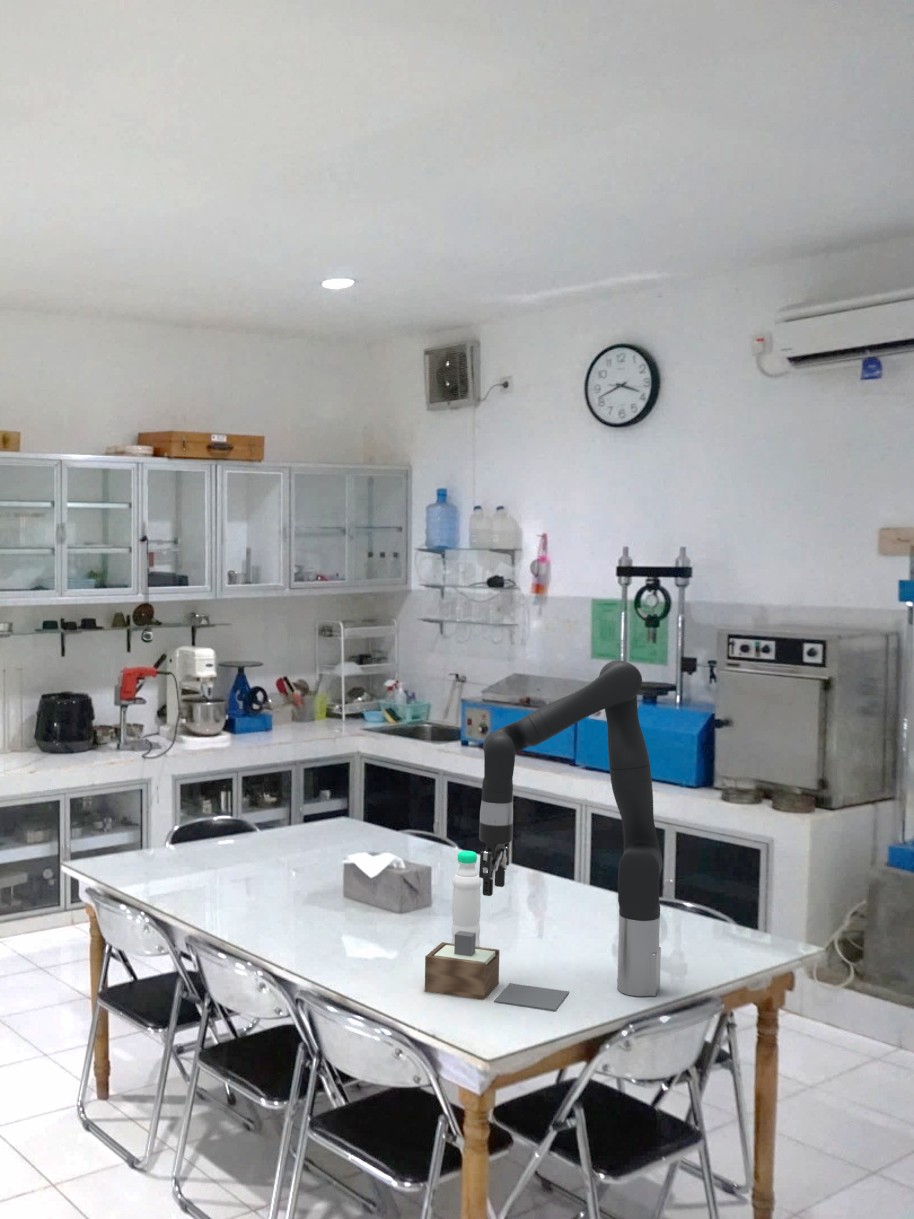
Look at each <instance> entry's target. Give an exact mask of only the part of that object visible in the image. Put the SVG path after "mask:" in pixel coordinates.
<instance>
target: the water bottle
mask: <svg viewBox="0 0 914 1219" xmlns="http://www.w3.org/2000/svg"><path fill="white" fill-rule="evenodd" d="M457 861H458V862H457V863H458V864H459V866H458V868H457V870H456V872H455V874H454V876H453V877H452V878H453V879H452V887H453V888H452V898H451V899H452V900H451V902H452V903H451V906H452V907H451V914H452V916H451V917H452V918H451V919H452V925H451V935H452V936H451V943H452V944H455V934H456V933H457V932H458V931H465V932H473V933H476V943H475V947H481V942H480V941H481V940H480V935H481V934H480V933H481V925H480V921H481V908H482V907H481V906H482V902H481V898H482V896H481V887H482V880H481V879H482V878H480V877H479V873H478V872H479V871H478V869H477V868H476V864H477V861H478V855H477V853H476V852H475V851H472V850H462V851H459V852H458V854H457Z"/></svg>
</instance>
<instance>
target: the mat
mask: <svg viewBox="0 0 914 1219" xmlns="http://www.w3.org/2000/svg"><path fill="white" fill-rule="evenodd" d="M569 994H570V990H562V989H554V988H547V987H540V986H535V985H534V986H532V985H525V984H519V983H518V984H517V983H512V982H509V984H508V985H507V986H506V987H505V988H504V989H503V990H502V991H501V992H500V993H499V995H498V996H496V997H495V998H494V1000H493V1003H494V1004H503V1005H509V1006H516V1007H523V1008H530V1009H535V1010H544V1011H551V1012H556V1011H557V1010H558V1009H559V1007H560V1006H561V1005H562V1003H564V1001H565V999H566V998H567V997H568V996H569Z"/></svg>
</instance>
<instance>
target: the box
mask: <svg viewBox="0 0 914 1219" xmlns="http://www.w3.org/2000/svg"><path fill="white" fill-rule="evenodd" d="M445 945H451V946H454V945H455V944H452V942H451V943H450V942H445V941H444V942H443V941H442V942H441V943H440V944H438V945H437V946H436V947H435V948H433V949H432V950H431V951H430V952H428V954H426V955H425V956H424V957H425V958H424V960H425V962H424V965H425V966H424V992H426V993H433V994H440V995H446V996H451V997H453V996H454V997H458V998H459V997H460V998H467V999H473V1000H482V1001H484V1000H485V999H486V998H488V996H489V995H490V994H491V993H492V992H493V991H494V989H496V988H497V986H498V985H499V984H500V983H499V982H500V949H497V948H491V947H490V948H489V947H488V948H487V947H481V946H480V947H475V949H481V950H489V951H495V956H494V957H493V958H492V959H491V960H490V961H489V962H488V963H487V964H486V963H482V962H474V961H467V960H460V959H452V958H445V957H437V956H434V955H435V954H436V953H437V952H438V951H439V950H441V949H442V948H443V947H444V946H445ZM495 987H496V988H495Z"/></svg>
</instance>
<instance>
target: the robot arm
mask: <svg viewBox="0 0 914 1219" xmlns="http://www.w3.org/2000/svg"><path fill="white" fill-rule="evenodd" d="M642 676H643V675H642V674H641V672H640V670H639V669H638V668H637V667H636V666H635V665H633V664H632V663H630V662H628V661H625V660H618V659H617V660H616V659H614V660H612V661H609V662H607V663H606V664H605V665H604V666H603V667H602V668H601V670H600V672H599V674H598V677H597V678H595V679H594V680H593V681H591V682H590V683H589V684H587V685H585V686H584V687H582V688H580V689H579V690H577V691H575V692H572V693H571V694H568V695H566V696H563V697H561V698H559V699H557V700H554V701H552V702H549V703H547V704H546V705H543V706H542V707H539V708H537V709H536V710H534V711H532V712H530V713H529V714H527V715H525V716H523V717H522V718H521V719H519V720H517V721H514V722H512V723H509V724H507V725H504V726H502V727H500V728H498V729H496V730H494V731H492V732H491V733H490V734H488V735H487V736H486V737H485V739H484V741H483V744H482V749H483V756H484V758H483V759H484V764H483V766H484V770H483V772H484V773H483V774H484V776H483V779H482V786H481V803H480V810H479V832H478V834H479V835H478V839H479V841H480V842H482V843H484V844H485V845H486V846H485V849H484V850H481V851H480V854H479V871H478V872H479V873H478V875H479V877H480V879H482V895H483V896H486V897H491V896H492V895H494V893H493V892H494V886H495V887H499V888H503V887H504V886H505V884H506V883H505V881H506V880H505V879H506V870H507V868H508V867H507V866H510V843H512V841H513V822H514V807H513V797H514V796H513V794H514V781H513V779H514V771H515V761H516V754H517V753H519V752H521V751H523V750H524V749H527V748H528V747H536V746H538V745H540V744H542V743H544V742H545V741H547V740H549V739H551V738H552V737H554V736H557V735H558V734H560V733H561V732H563V731H565V730H566V729H568V728H570V727H572V726H573V725H576V723H579V722H580V721H582V720H583V719H586V718H588V717H589V716H592V715H594V714H596V713H598V712H600V711H603V710H604V712H605V717H606V725H607V728H606V729H607V754H608V765H609V775H610V776H609V777H610V783H611V784H610V785H611V789H612V793H613V796H614V800H615V803H616V807H617V810H618V811H619V814H620V818H621V823H622V832H623V854H622V856H621V857H620V859H619V862H618V871H617V873H618V874H617V877H618V878H617V885H618V886H617V903H618V906H619V907H618V946H617V947H618V948H617V977H616V982H617V983H616V986H617V990H618V991H619V992H621V993H622V994H625V995H627V996H632V997H656V995H657V994H658V992H659V991H660V989H661V962H662V961H661V959H662V958H661V957H662V956H661V955H662V948H661V946H660V931H661V930H660V929H661V928H660V927H661V926H660V925H661V920H660V919H661V903H660V877H661V872H662V869H663V863H664V862H663V857H662V852H661V848H660V844H659V840H658V835H657V831H656V830H657V829H656V824H655V818H654V815H655V814H654V794H653V791H654V790H653V779H652V778H653V776H652V771H651V761H650V756H649V751H648V748H647V744H646V740H645V738H644V735H643V731H642V728H641V723H640V718H639V712H638V711H639V709H638V695H639V693H640V692H641V689H642V687H643V678H642Z"/></svg>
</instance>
